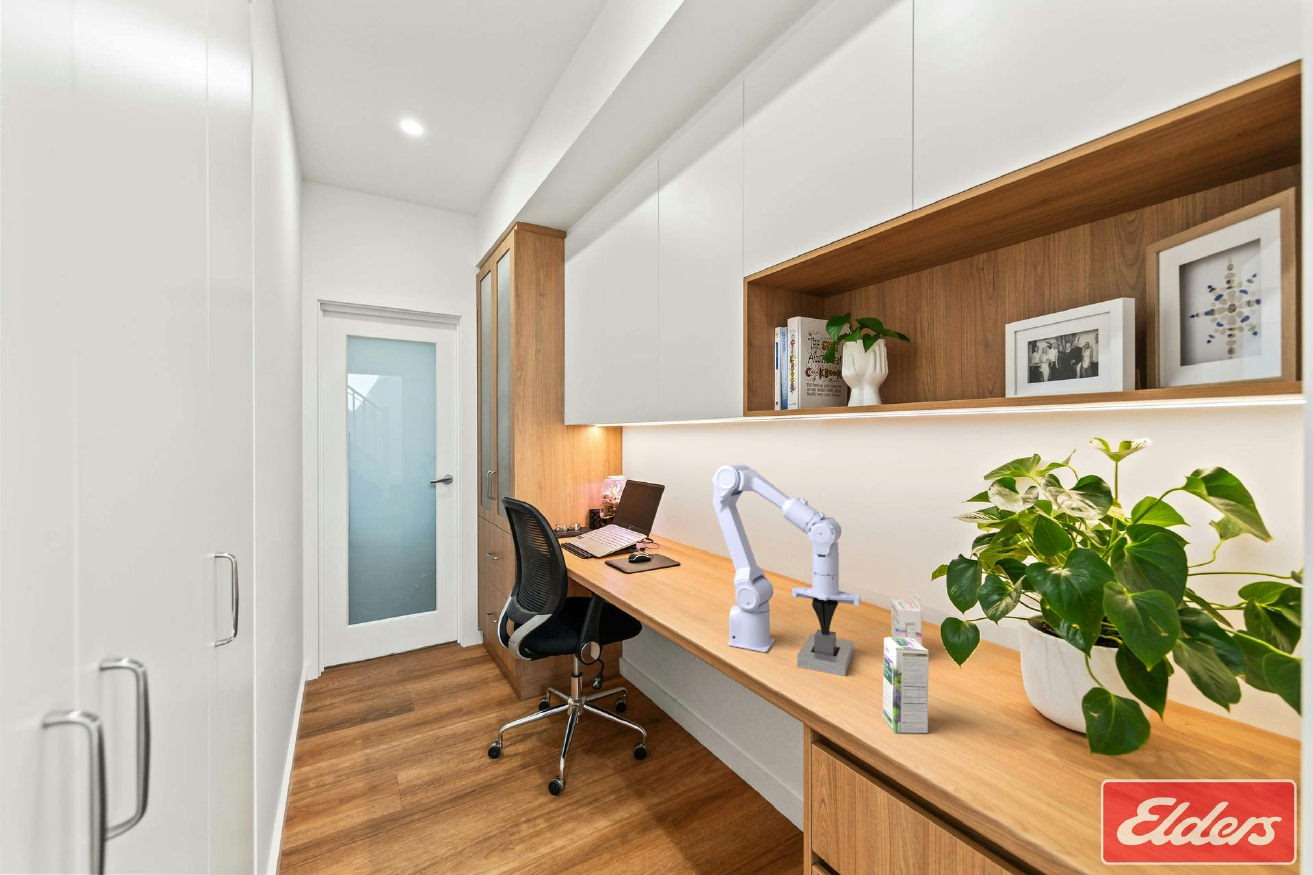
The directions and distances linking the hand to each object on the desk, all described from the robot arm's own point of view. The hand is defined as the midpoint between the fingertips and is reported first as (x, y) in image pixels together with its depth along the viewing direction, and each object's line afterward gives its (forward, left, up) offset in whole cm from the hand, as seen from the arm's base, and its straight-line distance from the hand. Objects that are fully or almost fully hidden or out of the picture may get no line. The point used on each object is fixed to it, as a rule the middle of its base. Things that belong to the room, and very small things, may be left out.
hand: (825, 632), depth 120 cm
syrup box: (+17, -21, -7) cm, 28 cm away
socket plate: (0, +1, -6) cm, 6 cm away
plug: (0, 0, -6) cm, 6 cm away
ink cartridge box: (+16, +12, -7) cm, 21 cm away
